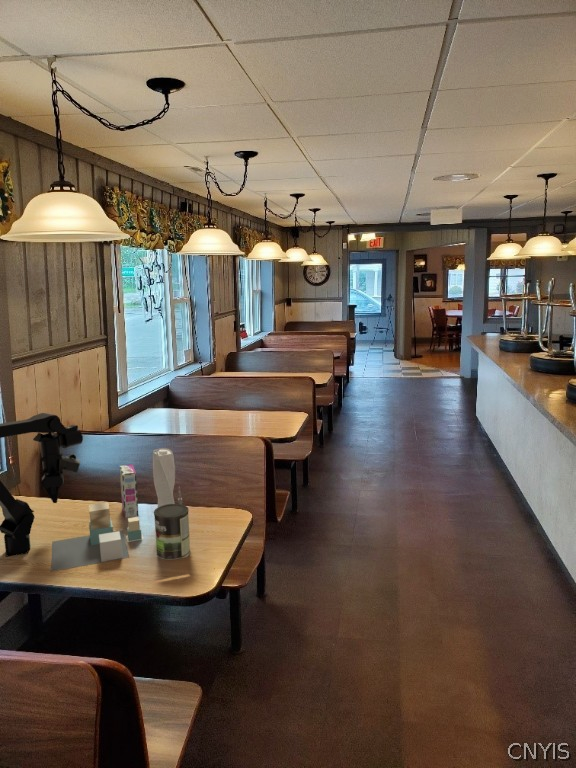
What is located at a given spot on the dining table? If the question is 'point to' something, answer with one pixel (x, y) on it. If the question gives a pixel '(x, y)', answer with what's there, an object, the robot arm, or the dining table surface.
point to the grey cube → (110, 546)
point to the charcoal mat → (79, 552)
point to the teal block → (95, 533)
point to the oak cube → (99, 515)
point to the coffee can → (172, 531)
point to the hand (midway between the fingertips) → (55, 497)
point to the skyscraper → (164, 476)
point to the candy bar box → (129, 491)
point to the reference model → (134, 530)
